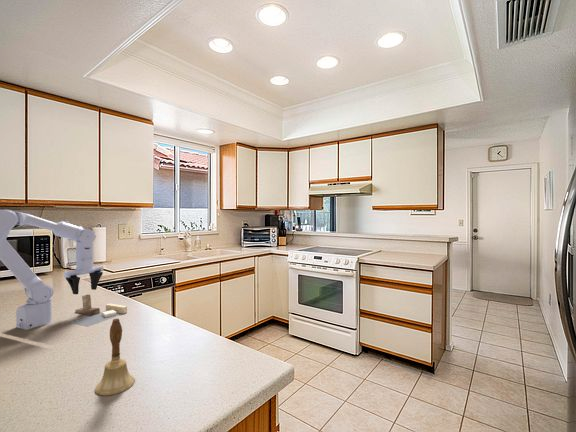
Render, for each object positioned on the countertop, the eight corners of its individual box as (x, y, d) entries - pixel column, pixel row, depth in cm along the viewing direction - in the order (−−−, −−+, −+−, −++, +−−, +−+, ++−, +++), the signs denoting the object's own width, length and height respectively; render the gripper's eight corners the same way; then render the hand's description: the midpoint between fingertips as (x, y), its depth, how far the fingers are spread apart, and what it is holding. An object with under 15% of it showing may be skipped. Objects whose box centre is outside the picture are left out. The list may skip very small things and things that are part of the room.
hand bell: (141, 375, 75) (140, 313, 75) (124, 395, 67) (123, 325, 66) (107, 376, 75) (107, 313, 75) (86, 396, 66) (86, 325, 66)
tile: (105, 317, 113) (105, 314, 113) (102, 315, 116) (102, 312, 116) (116, 315, 116) (116, 312, 116) (113, 312, 119) (113, 309, 119)
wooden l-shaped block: (92, 315, 116) (91, 296, 116) (75, 314, 120) (74, 296, 120) (99, 312, 119) (98, 294, 119) (83, 312, 122) (81, 294, 123)
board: (87, 329, 105) (87, 319, 105) (69, 325, 108) (69, 316, 108) (126, 314, 120) (126, 306, 120) (109, 311, 123) (109, 303, 123)
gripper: (95, 255, 128) (95, 286, 128) (58, 260, 114) (59, 295, 114) (106, 256, 125) (106, 288, 125) (71, 261, 112) (71, 297, 112)
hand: (84, 291), depth 120 cm, fingers open, 7 cm apart
